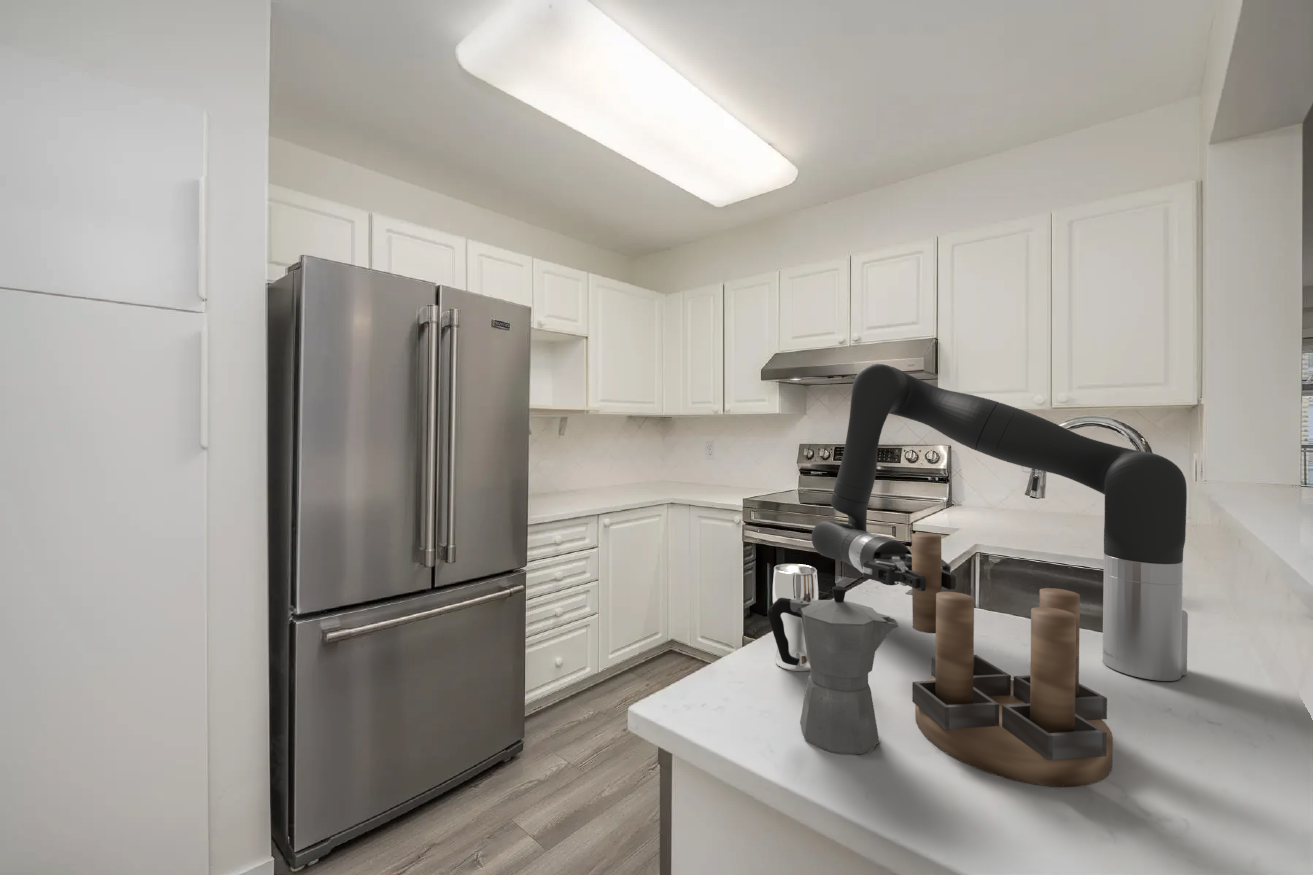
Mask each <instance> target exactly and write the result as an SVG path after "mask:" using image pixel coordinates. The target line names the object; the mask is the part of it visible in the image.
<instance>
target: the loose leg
mask: <svg viewBox="0 0 1313 875" xmlns="http://www.w3.org/2000/svg"><path fill="white" fill-rule="evenodd" d="M911 554H912V571H914V572H916V573H919V574H921V575H923V576H925V578H926V590H925V591H918V590H916V589H914V588H912V587H911V589H912V591H911V593H912V594H911V595H912V596H911V597H912V600H911V601H912V606H911V607H912V628H913V629H914V630H915V631H918V632H921V633H926V634H936V594H937V593H939V592H943V587H942V560H943V558H942V535H940V534H937V533H936V534H935V533H928V532H915V533H911Z"/></svg>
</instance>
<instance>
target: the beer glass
mask: <svg viewBox="0 0 1313 875" xmlns="http://www.w3.org/2000/svg"><path fill="white" fill-rule="evenodd" d="M817 572H818V570H817V569H816V567H814V566H811V565H808V564H807V565H806V564H800V563H781V564H777V565H775V566H774V567H773V580H772V605H773V604H774V603H775V602H776V601H777V600H778V599H779V598H788V599H791V600H793V599H796V600H803V601H806V602H808V603H809V602H812V601H816V600H819V584H818V573H817ZM781 618H782V620H783V624H784V632H785V635H786V638H787V639H788V643H789V653H790V655H791V656H793V657H795V658H799V659H800V660H799V663H798V665H790V664H787V663H784V662H783V661H782V659H781V656H780V653H779V650H778V647H777V646H776V647H777V648H776V652H775V653H776V654H775V659H774V660H775V661H774V662H775V664H776V665H777V666H778V667H779V666H780V667H779V668H782V669H784V670H786V669H787V670H788V671H792V672H807V671H810V668H811V667H810V664H809V662H808V658H807V651H806V644H805V637H804V630H803V623H802V618H800V617H796V616H793V615H790V614H788V613H782V614H781ZM787 670H786V671H787Z"/></svg>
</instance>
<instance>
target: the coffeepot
mask: <svg viewBox="0 0 1313 875" xmlns="http://www.w3.org/2000/svg"><path fill="white" fill-rule="evenodd" d="M831 588H832V589H831V590H832V595H833V596H832V597H833V599H818V600H816V601H812V602H809V603H808V602H806V601H803V600H796V599H793V600H791V599H788V598H779V599H778V600H777V601H776V602H775V603H774V604H773V603H772V605H770V606H769V607H768V609H767V612H766V613H767V619H768V621H769V624H770V628H771V631H772V633H773V637H774V639H775V643H776V647H778V650H779V653H780V656H781V659H782V661H783V662H784V663H787V664H790V665H798V663H799V660H800V659H799V658H795V657H793V656H791V655H790V653H789V643H788V639H787V638H786V635H785V632H784V624H783V620H782V618H781V614H782V613H788V614H790V615H793V616H796V617H800V618H802V623H803V630H804V637H805V644H806V651H807V658H808V662H809V664H810V667H811V668H810V670H809V671H810V672H809V673H810V674H809V675H808V676H807V682H806V687H805V693H804V698H803V705H802V709H801V716H800V721H799V724H800V727H801V733H802V735H803V737H804V739H805V740H806V741H808V742H809V743H810V744H811V745H813V746H815V747H817V748H819V749H821V750H823V751H826V752H829V753H833V754H837V755H847V756H848V755H849V756H852V755H853V756H854V755H861V754H865V753H868V752H870V751H872V750H873V749H875V747H876V745H877V744H879V743H880V738H879V737H880V736H879V732H878V726H877V719H876V714H875V708H874V700H873V695H872V690H871V687H870V684H869V673H870V672H872V671H873V666H874V661H875V656H876V652H877V651H878V648H879V647H880V645H881V644H882V642H883V641H884V640H885V638H886V637H887V636H888V635H889V634H890V633H891V631H892V630H893V629H896V628H898V627H899V624H898V622H897V620H896V619H894V618H892V617H891V616H889V615H885V614H882V613H879V612H876V610H875V609H874V608H873V607H871V606H867V605H864V604H861V603H860V604H859V603H855V602H851V601H849V600H845V596H846V591H847V588H846V587H844V586H840V585H837V586H832V587H831Z"/></svg>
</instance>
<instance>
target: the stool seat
mask: <svg viewBox="0 0 1313 875" xmlns="http://www.w3.org/2000/svg"><path fill="white" fill-rule="evenodd" d="M1080 600H1081V594H1080V593H1077V592H1075V591H1072V590H1066V589H1063V588H1062V589H1061V588H1054V587H1053V588H1052V587H1051V588H1050V587H1044V588H1043V587H1042V588H1040V589H1039V606H1035V607H1032V608H1031V609H1030V669H1029V670H1030V675H1013V676H1012V675H1011V674H1009V673H1008V672H1006V671H1004V670H1002V669H1001V668H999V667H997V666H995V665H994V664H992V663H990V662H989V661H987V660H985V659H983V658H982V657H980V656H978V655H977V654H975V653H974V652H975V650H974V645H975V642H974V641H975V636H974V635H975V634H974V633H975V597H973V596H972V595H969V594H966V593H962V592H956V591H942V592H939V593H937V594H936V633H935V656H931V669H930V670H931V672H930V674H931V676H932V677H931V678H928V679H926V680H920V681H919V680H917V681H916V680H915V681H912V686H911V688H912V694H911V695H912V696H911V698H912V700H911V701H912V703H913V704H914V705H915V706H914V707H915V711H914V714H915V715H914V716H915V724H916V725H917V727H918V729H919V731H920V732H921V734H922V735H923V736H924V737H925V738H926V739H927V740H928V741H929V742H931V744H933V745H934V746H935V747H937V748H938V749H939V750H941V751H943V752H944V753H946V754H948V755H949V756H951V757H952V758H954V759H956V760H958V761H961V762H962V763H964V764H965V765H969V766H971V767H972V768H973V767H974V768H975V769H978V770H980V771H984V772H987V773H990V774H992V775H994V776H995V775H996V776H998V777H1001V778H1005V779H1009V780H1013V781H1017V782H1020V783H1027V784H1031V785H1036V786H1045V787H1057V788H1058V787H1062V788H1066V787H1067V788H1069V787H1070V788H1072V787H1073V788H1075V787H1082V786H1083V787H1084V786H1089V785H1093V784H1097V783H1099V782H1100V781H1103V780H1104V779H1105V778H1107V777H1108V776H1110V774H1111V772H1112V770H1113V757H1114V756H1113V752H1114V751H1113V750H1114V749H1113V747H1114V744H1113V743H1114V742H1113V740H1114V738H1113V734H1112V730H1111V728H1110V727H1109V725H1108V724H1107V723H1106V722H1105V721H1104V720H1107V719H1108V697H1106V696H1104V695H1103V694H1100V693H1098V692H1096V691H1095V690H1093V689H1091V688H1090V687H1087V686H1085V685H1083V684H1082V683H1080V629H1081V628H1080V627H1081V626H1080V621H1081V616H1080V615H1081V614H1080V613H1081V612H1080V610H1081V608H1080V607H1081V601H1080ZM1012 677H1013V679H1012Z"/></svg>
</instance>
